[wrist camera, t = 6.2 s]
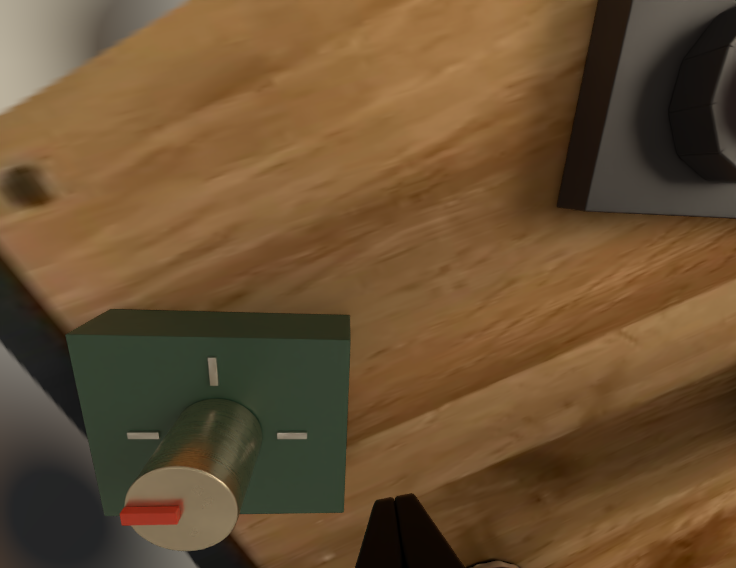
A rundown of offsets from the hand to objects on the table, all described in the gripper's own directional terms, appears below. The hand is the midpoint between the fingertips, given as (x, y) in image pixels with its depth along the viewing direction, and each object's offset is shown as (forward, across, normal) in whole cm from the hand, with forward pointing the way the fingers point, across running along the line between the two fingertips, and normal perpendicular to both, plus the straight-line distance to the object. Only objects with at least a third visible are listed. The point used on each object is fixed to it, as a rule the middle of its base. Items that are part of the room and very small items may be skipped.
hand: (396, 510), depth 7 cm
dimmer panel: (+12, +8, +4) cm, 14 cm away
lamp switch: (+12, -17, -7) cm, 22 cm away
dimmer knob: (+9, +8, +4) cm, 12 cm away
